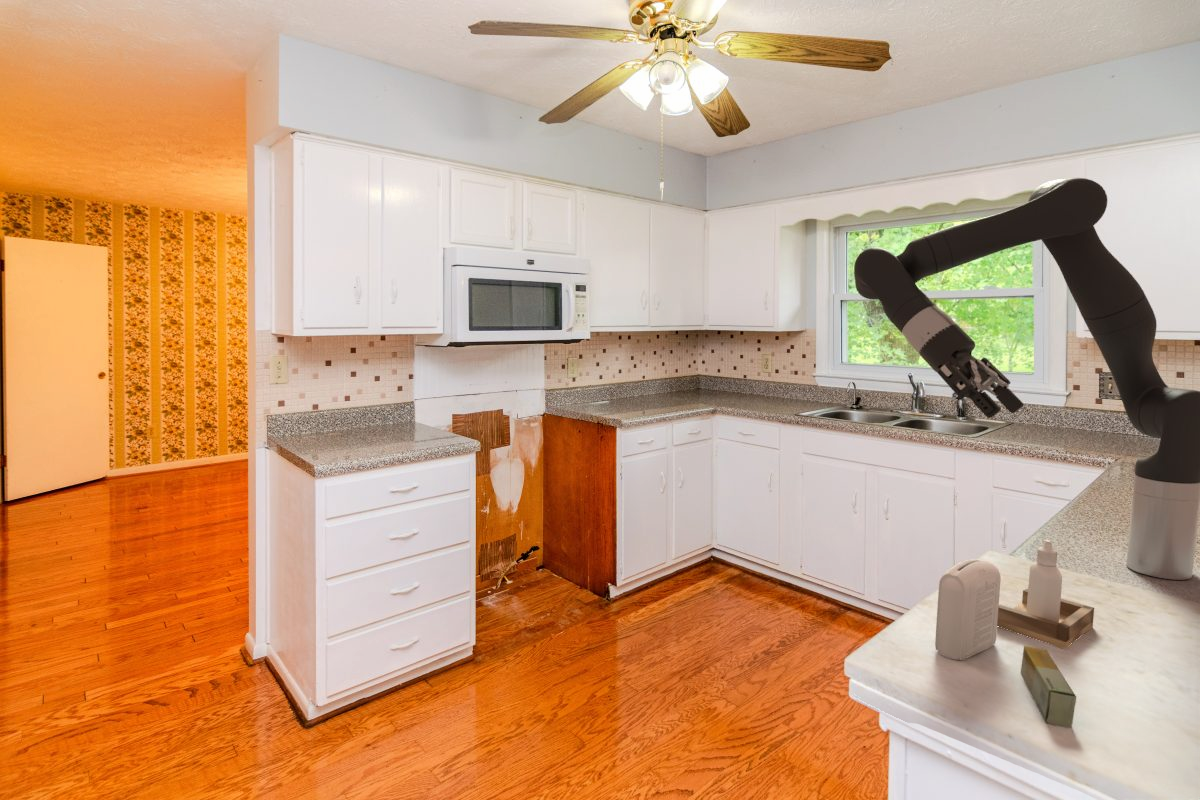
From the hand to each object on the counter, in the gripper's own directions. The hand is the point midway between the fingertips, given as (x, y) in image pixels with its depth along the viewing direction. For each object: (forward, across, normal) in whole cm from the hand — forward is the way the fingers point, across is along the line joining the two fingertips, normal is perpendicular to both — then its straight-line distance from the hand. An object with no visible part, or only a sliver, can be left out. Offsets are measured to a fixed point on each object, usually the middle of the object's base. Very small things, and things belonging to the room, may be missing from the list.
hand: (1007, 412), depth 106 cm
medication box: (+33, -27, +10) cm, 44 cm away
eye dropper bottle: (+27, -6, +15) cm, 32 cm away
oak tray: (+28, -6, +16) cm, 32 cm away
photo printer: (+25, -22, +18) cm, 38 cm away
